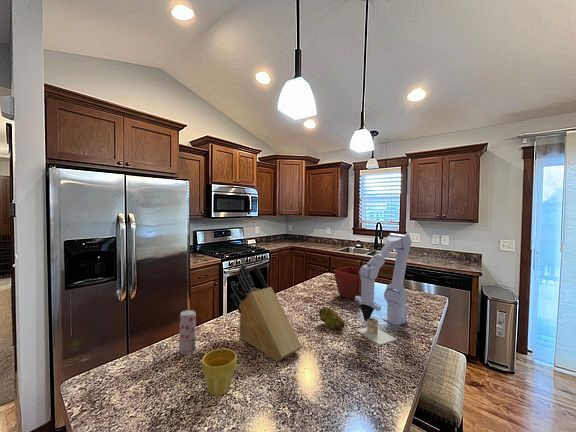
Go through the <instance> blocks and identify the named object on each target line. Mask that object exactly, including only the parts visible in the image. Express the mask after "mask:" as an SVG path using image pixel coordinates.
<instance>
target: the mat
mask: <svg viewBox="0 0 576 432" xmlns="http://www.w3.org/2000/svg"><path fill="white" fill-rule="evenodd" d="M356 332H357V333H359V334H361V335H362V336H363V337H365V338H367V339H369V341H372V342H373V343H375V344H377V345H378V346H383V345H387V344H390V343H393V342H397V341H398V339H397V338H396V337H394V336H392V335H390V334H388V333H386V332H385V331H383V330H382V329H379V328H378V333H375V334H369V333H368V332H367V326H366V327H362V328H358V329H356Z"/></svg>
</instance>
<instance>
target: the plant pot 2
mask: <svg viewBox="0 0 576 432" xmlns="http://www.w3.org/2000/svg"><path fill="white" fill-rule="evenodd" d="M360 268H361V267H356V266H346V267H340V268H336V269H334V270H333V274H334V280H335V283H336V287H337V292H338V294H339V296H340V297H343V298H346V299H348V298H349V300H351V301H355V296H360V297H361V286H362V281H361V276H360V275H359V271H360Z"/></svg>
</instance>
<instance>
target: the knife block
mask: <svg viewBox="0 0 576 432" xmlns="http://www.w3.org/2000/svg"><path fill="white" fill-rule="evenodd" d="M253 271H254V273H255V275H256V277H257V278H258V280H259V282H260V284H261V286H262V289H261V288H256V286H255V282H254V279H253V277H252V275H251V273H250V272H249V269H248V268H247V265H246V264H242V265H241V267H240V268H238V270H237V271H236V276H237V278H238V279H237V280H238V281H237V282H235V281H231V282H230V287H231V290H232V292H233V293H231V294H230V298H231V300H232V302H233V303H234V306H235V307H236V310H237V312H238V313H239V338H240V339H242V340H243V341H244V342H246V343H247V344H249V345H251V346H253V347H255V348H257V350H259V351H260V352H262V353H263V354H265V355H266V356H269V357H270V358H271V359H273V360H274V361H277V362H279V361H281V360H283V359H285V358H286V357H289V356H291V355H294V353H297V352H298V351H299V350H301V349H302V348H303V346H302V344H301V342H300V340H299V338H298V336H297V334H296V332H295V330H294V328H293V326H292V325H291V323H290V320H289V319H288V316H287V314H286V312H285V311H284V309H283V307H282V305H281V303H280V300H279V299H278V297H277V295H276V293H275V291H274V290H273V287H271V286H268V285H267V284H266V281H265V278H264V275H263V273H262V272H261V270H260V268H259V267H258V266H255V267H254V268H253ZM239 286H240V287H241V288H242V291H240V289H239Z"/></svg>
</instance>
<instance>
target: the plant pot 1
mask: <svg viewBox="0 0 576 432" xmlns="http://www.w3.org/2000/svg"><path fill="white" fill-rule="evenodd" d="M237 356H238V355H237V353H236V352H235V351H234V350H232V349H229V348H217V349H213V350H210V351H209V352H207V353H205V354H204V356H202V358H201V373H202V374H203V375H204V377H205V382H206V383H205V384H206V388H207V391H208V393H209V394H210V395H212V396H217V397H218V396H222V395H225V394H227V393H228V392H229V391H230V389H231V386H232V381H233V376H234V373H235V372H234V371H236V368H237V362H238V360H237V359H238V358H237Z"/></svg>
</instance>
